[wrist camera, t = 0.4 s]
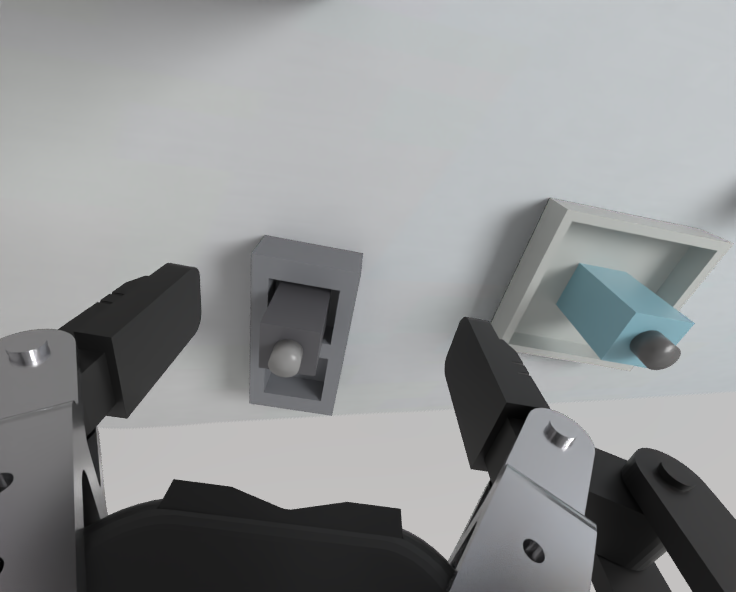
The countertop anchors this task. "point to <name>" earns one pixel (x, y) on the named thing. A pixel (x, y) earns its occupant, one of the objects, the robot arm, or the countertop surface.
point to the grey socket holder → (342, 276)
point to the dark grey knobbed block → (294, 329)
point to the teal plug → (623, 318)
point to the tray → (603, 249)
